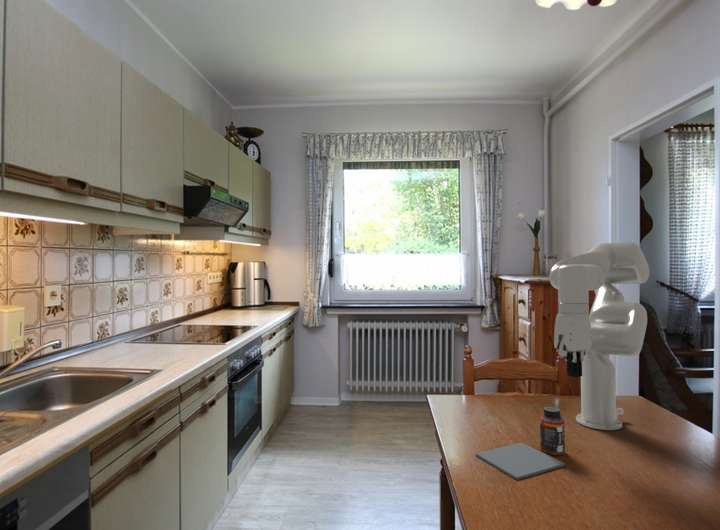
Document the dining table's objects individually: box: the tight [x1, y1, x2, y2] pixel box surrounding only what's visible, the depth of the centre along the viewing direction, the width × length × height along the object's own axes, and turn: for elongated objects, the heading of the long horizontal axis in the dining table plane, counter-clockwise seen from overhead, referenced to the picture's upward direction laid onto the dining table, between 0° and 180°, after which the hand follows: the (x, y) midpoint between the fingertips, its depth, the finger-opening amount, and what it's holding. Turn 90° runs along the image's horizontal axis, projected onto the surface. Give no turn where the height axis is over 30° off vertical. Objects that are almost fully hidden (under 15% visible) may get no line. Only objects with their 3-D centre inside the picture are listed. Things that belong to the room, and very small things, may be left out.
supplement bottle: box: [539, 406, 566, 457], centre depth 110 cm, size 6×6×11 cm
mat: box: [475, 441, 566, 481], centre depth 105 cm, size 16×14×1 cm
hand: (574, 375), depth 114 cm, fingers closed
